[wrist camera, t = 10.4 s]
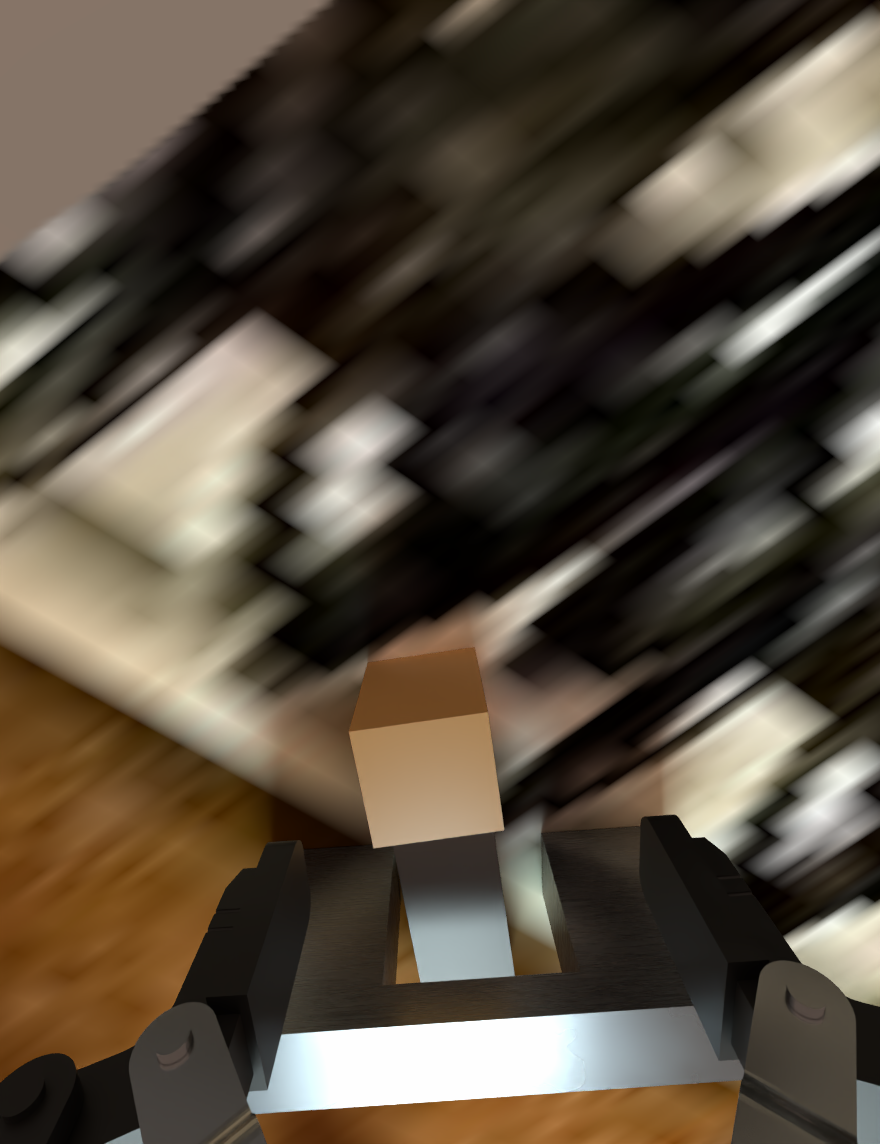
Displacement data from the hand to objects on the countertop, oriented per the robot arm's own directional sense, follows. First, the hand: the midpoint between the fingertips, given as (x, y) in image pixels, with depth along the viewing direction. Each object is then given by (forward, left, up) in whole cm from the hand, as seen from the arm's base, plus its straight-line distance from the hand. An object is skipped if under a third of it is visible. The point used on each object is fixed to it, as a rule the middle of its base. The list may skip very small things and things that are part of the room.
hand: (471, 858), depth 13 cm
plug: (-1, -5, -8) cm, 10 cm away
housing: (0, -8, -8) cm, 11 cm away
